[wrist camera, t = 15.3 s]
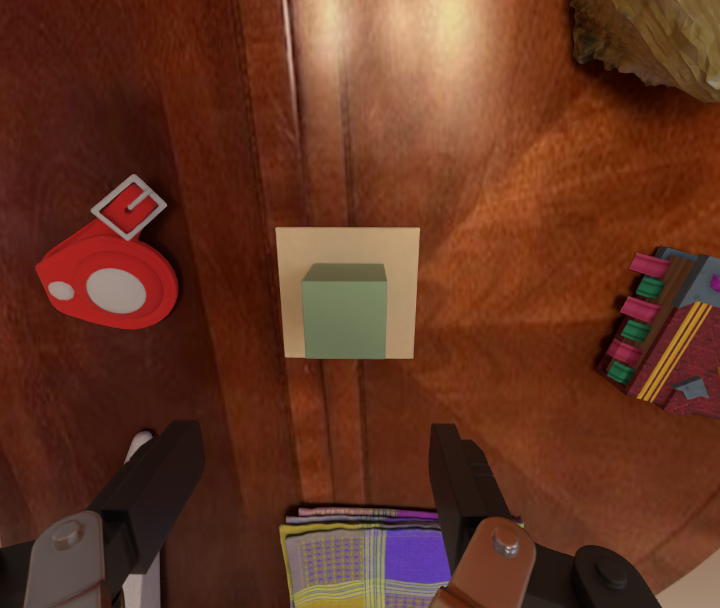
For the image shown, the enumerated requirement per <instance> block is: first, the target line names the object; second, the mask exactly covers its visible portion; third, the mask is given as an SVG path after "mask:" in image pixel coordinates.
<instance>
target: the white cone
mask: <svg viewBox="0 0 720 608" xmlns="http://www.w3.org/2000/svg"><path fill="white" fill-rule="evenodd" d="M151 438H152V434H151V433H150V432H148V431H142V432H140V433H138V434H137V435H136V436H135V437H134V439H133V441H132V443H131V446H130V449H129V452H128V455H127V457H126V460H125V463H126V462H127V461H129V458H130V457H131V456H132V455H133V454H134V453H135V451H136V450H137V449H138V448H139V447H140V446H141V445H142V444H144V443H145V442H147V441H148V440H150V439H151ZM125 463H124V464H125ZM122 587H123V591H124V598H125V608H160V559H159V553H158V554H157V556H156V558H155V560H154V561H153V563H152V565H151V567H150V569H149V570H148V572H147V574H146V575H135V574H129V576H128V578H127V579H126V581H125V583H124V584H123V586H122Z"/></svg>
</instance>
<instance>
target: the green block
mask: <svg viewBox="0 0 720 608" xmlns="http://www.w3.org/2000/svg"><path fill="white" fill-rule="evenodd" d="M301 287H302V305H303V323H304V341H305V358H319V359H385V358H386V318H387V278H386V273H385V268H384V264H351V263H314V264H313V265H312V267H311V268H310V270H309V271H308V272H307V274H306V275H305V277H304V278H303V280H302V281H301Z"/></svg>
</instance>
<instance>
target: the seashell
mask: <svg viewBox="0 0 720 608" xmlns="http://www.w3.org/2000/svg"><path fill="white" fill-rule="evenodd" d="M569 6H570V7H574V8H575V13H574V15H573V16H574V18H575V21H576V23H575V26H574V29H573V31H572V34H573V39H574V43H575V45H574V50H573V56H574V58H575V60H577V61H578V63H580V64H585V63H587V62H589V61H592V60H594V59H597V60H601V61H602V62H604V69H605V70H608V71H610V70H612V69H613V68H617V69H618V72H621V73H634V74H636V75H637V76H638V77H639V78H640V79H641V82H645V85H646V87H647V86H650V85H653V86H654V87H655V86H658V85H661V84H665V85H666V86H667V87H673V86H674V87H676V88H678V89H680V90H682V91H684V92H686V93H688V94H690V95H692V96H693V97H695V98H697V99H699V100H700V101H702V102H718V103H719V102H720V0H572V2H571V3H570V5H569Z"/></svg>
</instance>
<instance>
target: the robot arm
mask: <svg viewBox="0 0 720 608" xmlns="http://www.w3.org/2000/svg"><path fill="white" fill-rule="evenodd" d="M204 467H205V452H204V446H203V440H202V434H201V428H200V424H199V422H198V421H197V420H174V421H172V422H171V423H170V424H169V425H168V427H167V428H166V429H165V430H164V432H163V433H162V434H161V435H155V436H154V437H152V438H151V439H150V440H148V441H147V442H145V443H144V444H142V445H141V446H140V447H139V448H138V449H137V450H136V451H135V453H134V454H133V455H132V456H131V457H130V458H129V461H127V462H126V463H125V464H124V465H123V466H122V468H121V469H120V472H117V473H116V475H115V476H114V477H113V478H112V479H111V480H110V482H109V483H108V484H107V485H106V486H105V487H104V489H103V490H102V491H101V492H100V493H99V494H98V495H97V497H96V498H95V499H94V500H93V501H92V502H91V504H90V505H89V506H88V507H87V508H86V509H85V511H82V512H77V513H74V514H71V515H69V516H66V517H64V518H62V519H61V520H59V521H57V522H56V523H54V524H53V525H51V526H50V527H49V528H47V529H46V530H45V531H44V532H43V533H42V534H41V535H40V536H39V537H38V539H37V540H33V541H29V542H25V543H21V544H17V545H13V546H9V547H5V548H0V608H125V598H124V591H123V587H122V586H123V584H124V583H125V581H126V579H127V578H128V576H129V574H135V575H146V574H147V572H148V570H149V569H150V567H151V565H152V563H153V561H154V560H155V558H156V556H157V554H158V553H159V551H160V549H161V547H162V545H163V544H164V542H165V540H166V538H167V537H168V535H169V533H170V531H171V529H172V528H173V526H174V524H175V522H176V521H177V519H178V517H179V515H180V513H181V512H182V510H183V508H184V506H185V505H186V503H187V501H188V499H189V497H190V496H191V494H192V492H193V490H194V488H195V487H196V485H197V483H198V481H199V480H200V478H201V476H202V474H203V471H204ZM429 477H430V482H431V487H432V491H433V496H434V500H435V505H436V509H437V514H438V519H439V523H440V528H441V532H442V537H443V541H444V546H445V551H446V555H447V560H448V564H449V569H450V573H451V579H450V581H449V583H448V585H447V586H446V587H444V586H441V587H440V588H439V589H438V590H437V592H436V594H435V595H434V597H433V599H432V601H431V603H430V605H429V606H428V608H662V607H661V606H660V604H659V602H658V601H657V599H656V598H655V596H654V595H653V593H652V591H651V590H650V588H649V587H648V585H647V584H646V582H645V581H644V579H643V578H642V576H641V575H640V573H639V572H638V571H637V570H636V569H635V568H634V566H633V565H631V564H630V563H629V562H628V561H627V560H626V559H624V558H623V557H622V556H620V555H619V554H617V553H615V552H613V551H611V550H609V549H607V548H604V547H600V546H595V545H587V546H583V547H581V548H580V549H578V550H577V552H576V554H575V557H574V556H570V555H567V554H564V553H561V552H558V551H554V550H551V549H548V548H545V547H543V546H541V545H539V544H537V543H535V542H534V541H533V540H532V538H531V536H530V535H529V534H528V533H527V531H526V530H525V529H523V528H522V527H521V526H520V525H518V524H517V523H515V522H514V521H513V519H512V516H511V514H510V512H509V510H508V507H507V505H506V503H505V500H504V498H503V496H502V494H501V491H500V489H499V487H498V485H497V482H496V480H495V478H494V477H493V473H492V471H491V469H490V467H489V466H488V462H487V460H486V457H485V455H484V453H483V451H482V450H481V449H480V448H479V447H478V446H477V445H476V444H475V443H474V442H473V441H472V440H461V439H460V436H459V433H458V431H457V428H456V426H455V424H432V426H431V436H430V449H429Z"/></svg>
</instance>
